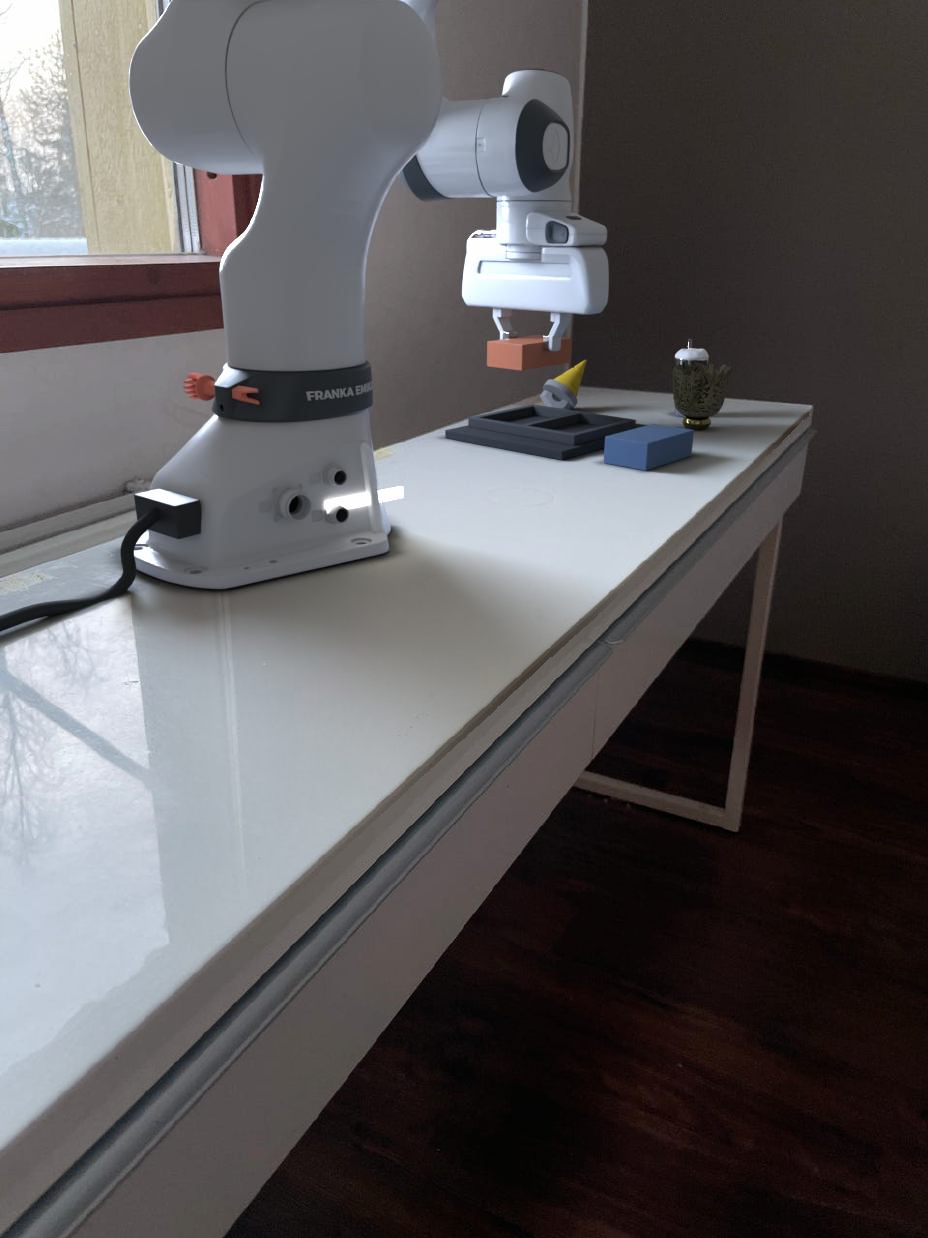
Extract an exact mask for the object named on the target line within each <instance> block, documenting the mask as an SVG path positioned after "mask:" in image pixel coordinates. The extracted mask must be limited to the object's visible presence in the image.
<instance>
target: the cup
mask: <svg viewBox="0 0 928 1238" xmlns="http://www.w3.org/2000/svg"><path fill="white" fill-rule="evenodd" d="M671 368H672V396H673V397H672V398H673V404H674V408H675V407H676V409H677V410H678V412H679V413H681V414H682V415H684V416H685V417H683V418H682V421H681V422H682V425H683V427H684V429H690V430H694V431H704V430H707V429H708V428H710V426H711V424H712V419H711V417H714V416H715V415H717V414H719V412H720V410H722V408H723V405H724V403H725V400H726V396H727V393H728V389H729V384H730V379H731V374H732V370H733V368H732V366H731V365H729V366H727V365H726V364H723V365H721V366H720V368H719V369H717V368H716V369H714V364H713V363H711V362H710V363H707V366H705V365H703V364H701V363H699V362H697V363H696V364H695V365H694V366H693V367H691V368H690V365H689V364H687V363H686V364H685V368H684V369H683V366H682V365H681V364H678V366H677V365H676V364H675V363H674V365H672V367H671Z"/></svg>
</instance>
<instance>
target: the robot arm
mask: <svg viewBox="0 0 928 1238" xmlns="http://www.w3.org/2000/svg"><path fill="white" fill-rule="evenodd" d="M439 1H440V0H170V1H169V3H168V4H167V7H166V8H165V10H164V11H163V13H162V15H161V16H160V17H159V19H158V20H157V22H156V23H155V24H154V25H153V26H152V27H151V29H150V30H149V31H148V32H147V33H146V34H145V36H144V37H142V39H141V40H139V43H138V44H137V46H136V47H135V49H134V51H133V54H132V57H131V60H130V65H129V69H128V70H129V71H128V91H129V98H130V103H131V108H132V110H133V114H134V117H135V120H136V122H137V124H138V126H139V128H140V131H141V132H142V134H143V135H144V137H145V139H146V141H148V142H149V144H150V145H151V147H153V148H154V150H155V151H157V153H159V155H161V156H162V157H164V158H165V159H167V160H169V161H171V162H173V163H176V164H177V165H178V164H179V165H182V166H185V167H188V168H192V169H196V170H200V171H204V172H207V173H212V174H215V175H216V174H217V175H222V176H231V175H233V176H235V175H237V176H238V175H262V180H261V185H260V192H259V197H258V202H257V205H256V208H255V211H254V214H253V216H252V218H251V220H250V222H249V225H248V226H247V228H246V229H245V231H244V232H243V233H242V234H240V235H239V236H238V237H237V238H236V239H234V240H233V242H232V243H230V244H229V246H228V247H227V248H226V250H225V251H224V253H223V255H222V257H221V260H220V263H219V271H218V272H219V273H218V276H219V288H220V296H221V309H222V320H223V330H224V341H225V353H226V363H225V364H224V365H223V366H222V369H221V371H220V375H219V377H218V378H217V380H216V379H215V378H214V377H213V376H212V375H209V374H201V373H199V372H190V373H189V374H187V375H186V376H185V378H186V379H185V380H183V384H185V385H183V386H182V388H183V389H186V390H184V393H185V394H186V395H187V394H188V395H187V397H188V398H190V399H192V400H193V399H194V400H201V401H204V402H209V401H211V400H213V401H212V406H211V412H212V413H213V415H211V417H210V418H209V419H208V420H207V421H206V422H205V423H204V424H203V425H202V426H201V427H200V428H199V429H198V431H196V433H195V434H194V435H192V437H191V438H190V439H189V440H188V441H187V442H186V443H185V444H184V445H183V446H182V447H181V448H180V449H179V450H178V451H177V452H176V453H175V454H174V455H173V456H172V458H170V460H168V461H167V462H166V464H164V465H163V466H162V468H161V469H159V470H158V471H157V472H156V474H154V476H153V479H152V480H151V485H150V489H149V490H147V491H143V492H138V493H135V494H133V499H134V505H135V507H134V508H135V513H136V514H135V515H136V522H134V523H133V524H132V526H131V527H130V528H129V529H128V531H127V532H126V533H125V535H124V537H123V539H122V541H121V545H120V551H119V553H120V561H121V566H122V574H121V576H120V577H119V578H118V579H117V580H116V582H115V583H113V585H112V586H111V587H109V588H107V589H106V590H105V591H103V592H100V593H98V594H95V595H92V596H87V597H80V598H73V599H72V598H71V599H62V600H61V599H60V600H51V601H44V602H38V603H34V604H30V605H26V606H24V607H21V608H17V609H14V610H11V611H9V612H7V613H4V614H1V615H0V633H2V632H3V631H7V630H8V629H11V628H14V627H16V626H19V625H22V624H24V623H28V622H31V621H34V620H36V619H42V618H46V617H52V616H58V615H63V614H67V613H71V612H75V611H77V610H81V609H83V608H87V607H90V606H92V605H93V606H94V605H96V604H98V603H101V602H103V601H107V600H110V599H112V598H116V597H119V596H121V595H124V594H125V593H126V592H127V591H128V590H129V588H130V587H131V586H132V585H133V583H134V582H135V580H136V577H137V571H139V572H142V573H144V574H145V575H148V576H150V577H153V578H156V579H157V580H158V579H159V580H162V581H164V582H168V583H172V584H176V585H180V586H185V587H189V588H190V587H191V588H197V589H198V588H199V589H209V590H226V589H232V588H236V587H241V586H245V585H249V584H254V583H258V582H263V581H267V580H272V579H276V578H281V577H285V576H289V575H293V574H294V575H295V574H299V573H302V572H308V571H311V570H316V569H321V568H326V567H329V566H330V567H331V566H333V565H339V564H342V563H348V562H353V561H355V560H361V559H365V558H370V557H375V556H378V555H382V554H386V553H387V552H389V551H390V544H389V537H388V535H389V534H390V532H391V530H392V526H391V522H390V520H389V517H388V514H387V510H386V508H385V504H384V503H385V502H389V501H394V500H398V499H403V498H404V486H402V485H400V486H399V485H398V486H395V487H389V488H384V489H381V486H380V482H379V475H378V471H377V470H378V469H377V464H376V458H375V450H374V446H373V445H374V444H373V440H372V439H373V437H372V432H371V431H372V430H371V423H370V412H371V407H373V405H374V394H373V393H374V392H373V391H374V385H373V374H372V364H371V363H370V362H369V361H368V360H367V354H366V271H367V264H368V263H367V262H368V253H369V249H370V244H371V239H372V235H373V232H374V228H375V225H376V222H377V220H378V217H379V213H380V211H381V208H382V206H383V204H384V201H385V199H386V197H387V195H388V193H389V191H390V189H391V188H392V186H393V184H394V183H395V181H396V179H397V177H398V178H399V180H400V181H401V183H402V184H403V185H404V186H405V188H406V189H407V190H408V191H409V192H410V193H411V194H413V196H415V197H416V198H417V199H418V200H420V201H421V202H424V203H431V202H438V201H439V202H440V201H447V200H454V199H457V198H458V199H460V198H461V199H463V198H466V199H467V198H470V199H473V198H496V227H494V228H485V227H480V228H476V229H475V230H474V232H472V233H471V234H470V235H469V237H468V239H467V240H466V254H465V259H464V265H463V275H462V285H461V297H462V299H463V301H464V303H465V305H466V306H468V307H480V308H492V319H493V321H494V323H495V326H496V327H497V330H498V331H499V340H501V339H509V338H517V337H518V333H519V331H517V330H513V327H512V324H511V322H510V319H509V317H512V316H513V315H512V314H513V310H520V311H532V312H533V311H534V312H544V313H545V312H546V313H550V322H552V323H553V325H552V327H551V329H550V330H549V334H546V335H544V336H543V342H544V344H543V348H544V350H546V351H559V350H560V348H561V337H562V336H563V335H564V333H565V331H566V330H567V328H568V325H569V324H570V322H571V314H575V315H596V314H601V313H603V311H604V309H605V308H606V306H607V305H608V303H609V292H610V291H609V289H610V287H609V285H610V271H609V270H610V269H609V259H608V255H607V253H606V251H605V249H604V248H602V247H601V246H603V245H605V244H606V242H607V239H608V229H607V227H606V226H605V225H603V224H601V223H600V222H596V221H594V220H591V219H589V218H587V217H585V216H582V215H580V214H578V213H576V212H573V211H572V206H573V205H572V203H573V202H572V200H573V197H572V192H571V189H570V188H571V187H570V175H571V171H572V170H571V169H572V167H573V164H574V153H575V124H574V119H575V118H574V108H573V107H574V106H573V95H572V89H571V84H570V81H569V80H568V79H567V78H566V77H565V76H563V75H562V74H561V73H558V72H557V71H555V70H547V69H544V68H523V69H518V70H516V71H512V72H510V73H509V74H508V75H507V76H506V77H505V79H504V83H503V87H502V92H501V93H502V94H501V95H500V96H498V97H491V98H485V99H467V100H450V99H448V98H446V97H445V96H444V95H443V94H444V93H443V92H444V78H443V69H442V63H441V58H440V55H439V52H438V47H437V31H436V13H437V7H438V4H439ZM187 378H188V379H187Z"/></svg>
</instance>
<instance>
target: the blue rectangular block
mask: <svg viewBox="0 0 928 1238" xmlns="http://www.w3.org/2000/svg"><path fill="white" fill-rule="evenodd" d="M646 425H647V426H643V427H639V428H636V429H632V430H628V431H624V432H621V433H617V434H613V435H609V436H606V437H605V448H603V449H604V451H603V452H604V453H603V463H604V464H607V465H612V466H618V467H624V468H628V469H633V470H640V471H644V472H646V471H650V470H652V469H656V468H658V467H662V466H664V465H667V464H670V463H674V462H676V461H680V460H683V459H686V458H689V457H692V456H693V455H692V454H693V445H694V435H695V434H694V433H695V430H692V429H687V428H682V427H675V426H670V425H664V424H663V425H662V424H656V423H651V424H646Z"/></svg>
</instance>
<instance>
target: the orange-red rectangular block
mask: <svg viewBox="0 0 928 1238" xmlns="http://www.w3.org/2000/svg"><path fill="white" fill-rule="evenodd" d="M543 336H545V335H543V334H532V335H525V336H519V337H517V338H509V339H501V340H500V339H495V340H488V341H487V342H486V345H487V347H486V348H487V349H486V367H489V368H490V367H491V368H497V369H504V370H513V371H519V372H520V371H521V372H523V371H528V370H534V369H535V370H536V369H540V368H541V369H542V368H546V367H552V366H557V365H565V364H570V363H571V360H572V359H571V358H572V338H571V337H565V336H564V337H563V336H561V348H560V350H559V351H546V350H544V348H543V344H544V342H543Z"/></svg>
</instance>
